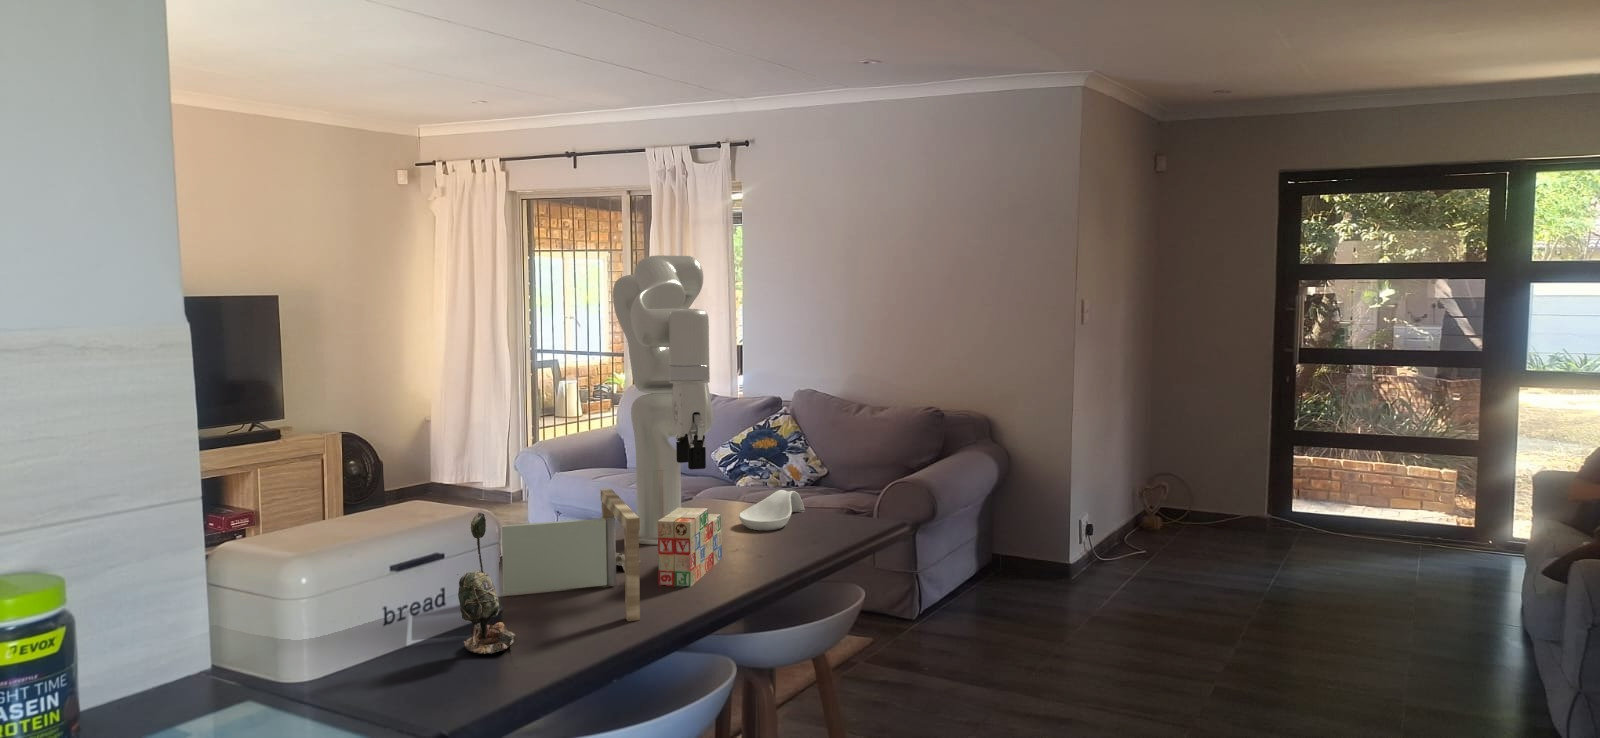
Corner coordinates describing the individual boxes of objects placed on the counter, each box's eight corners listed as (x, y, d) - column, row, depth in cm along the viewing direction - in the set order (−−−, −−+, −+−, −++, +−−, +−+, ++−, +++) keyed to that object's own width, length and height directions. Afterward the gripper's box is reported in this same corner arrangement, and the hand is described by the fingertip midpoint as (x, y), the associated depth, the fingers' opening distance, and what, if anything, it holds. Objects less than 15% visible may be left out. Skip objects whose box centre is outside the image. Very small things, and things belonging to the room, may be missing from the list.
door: (615, 582, 198) (614, 517, 197) (616, 584, 197) (615, 519, 196) (503, 592, 192) (501, 525, 191) (503, 594, 190) (502, 527, 190)
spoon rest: (778, 537, 237) (778, 505, 237) (730, 533, 242) (729, 501, 241) (818, 517, 259) (817, 487, 259) (772, 513, 264) (772, 484, 263)
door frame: (602, 580, 202) (600, 489, 201) (612, 579, 202) (611, 488, 201) (628, 623, 175) (627, 518, 174) (641, 621, 176) (639, 518, 175)
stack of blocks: (692, 558, 219) (691, 498, 218) (722, 559, 217) (721, 499, 217) (658, 586, 198) (657, 519, 197) (691, 588, 196) (690, 521, 196)
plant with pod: (440, 656, 160) (437, 521, 158) (484, 633, 170) (481, 507, 169) (489, 661, 157) (485, 525, 156) (530, 637, 168) (527, 510, 167)
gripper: (660, 373, 211) (661, 460, 212) (680, 378, 195) (681, 472, 196) (698, 372, 214) (699, 458, 215) (720, 376, 198) (722, 470, 198)
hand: (690, 465), depth 205 cm, fingers open, 9 cm apart
